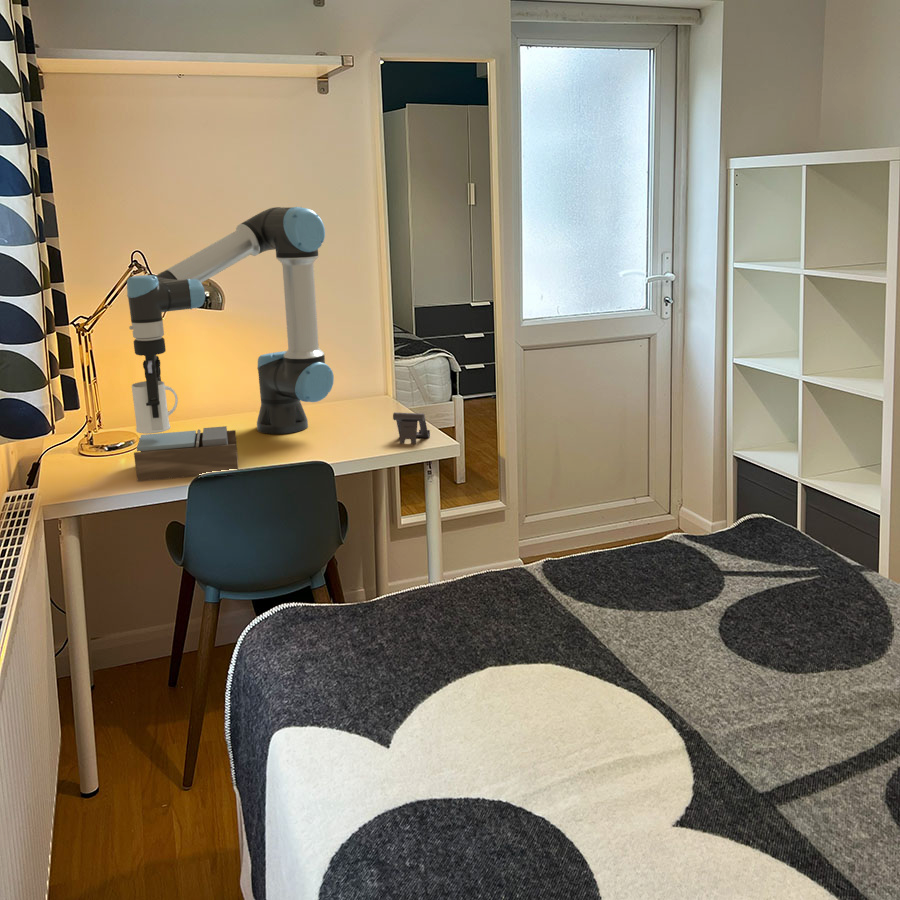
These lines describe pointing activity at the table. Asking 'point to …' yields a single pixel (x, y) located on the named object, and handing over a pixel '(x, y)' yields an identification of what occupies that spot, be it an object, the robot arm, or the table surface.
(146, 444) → the trapdoor
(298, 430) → the robot arm
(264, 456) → the table surface
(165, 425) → the mug
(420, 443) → the table surface
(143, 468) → the brown wooden box
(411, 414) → the portable electronic device stand
